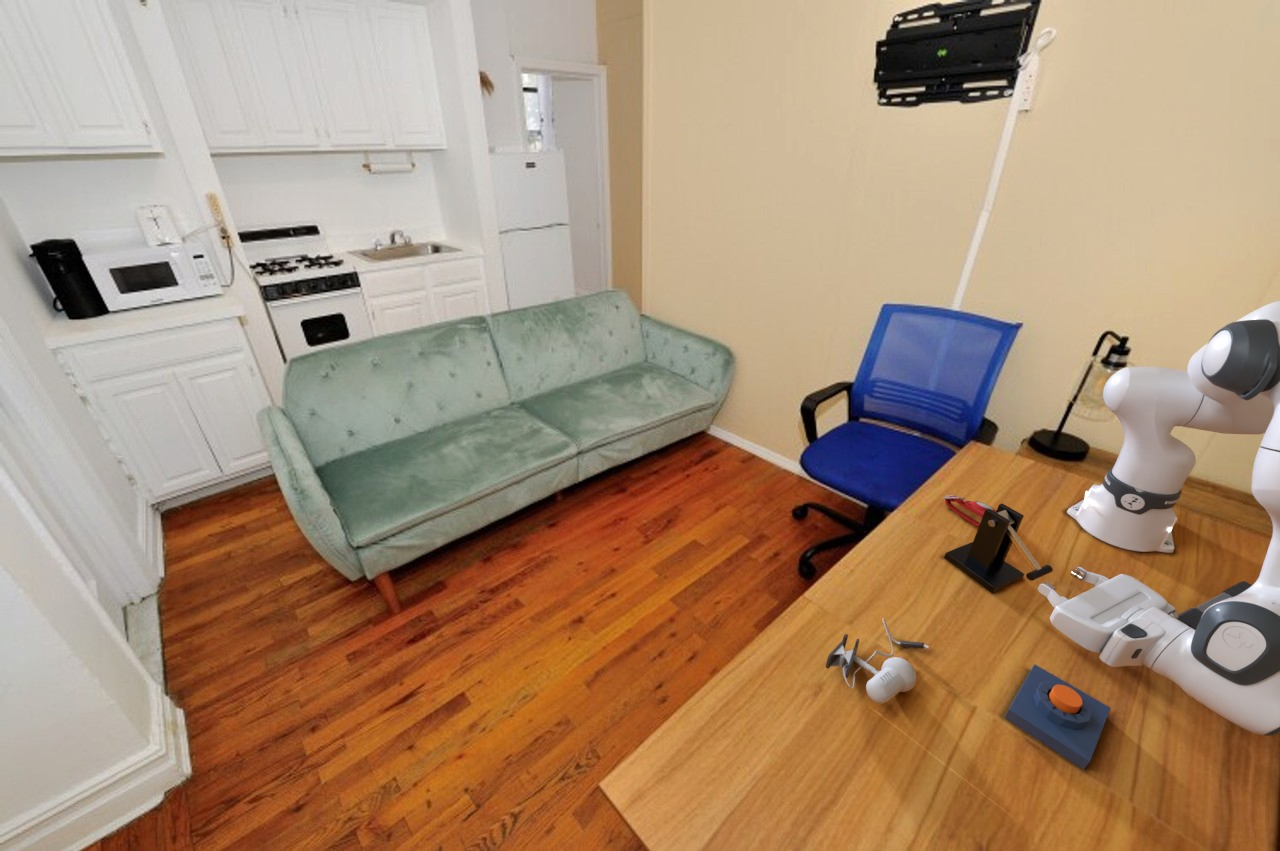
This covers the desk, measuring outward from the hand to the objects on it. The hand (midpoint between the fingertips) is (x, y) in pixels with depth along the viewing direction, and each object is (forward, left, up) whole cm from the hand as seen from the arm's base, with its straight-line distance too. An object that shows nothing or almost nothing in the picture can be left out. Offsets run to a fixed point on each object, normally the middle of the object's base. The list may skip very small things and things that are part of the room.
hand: (1057, 577), depth 93 cm
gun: (-18, +21, -9) cm, 29 cm away
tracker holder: (-22, -20, -9) cm, 31 cm away
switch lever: (-2, -8, +1) cm, 8 cm away
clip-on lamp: (+35, -14, -9) cm, 39 cm away
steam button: (+23, +8, -5) cm, 25 cm away
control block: (+23, +8, -8) cm, 26 cm away
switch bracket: (-4, -12, -8) cm, 15 cm away
